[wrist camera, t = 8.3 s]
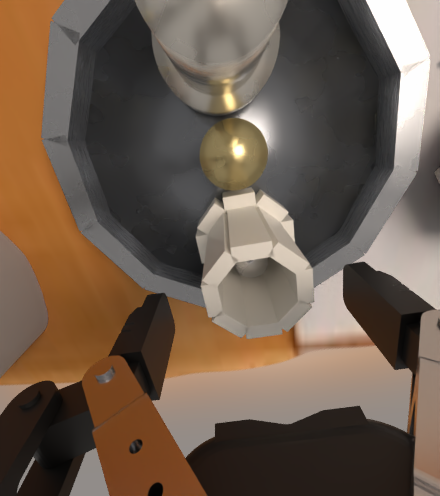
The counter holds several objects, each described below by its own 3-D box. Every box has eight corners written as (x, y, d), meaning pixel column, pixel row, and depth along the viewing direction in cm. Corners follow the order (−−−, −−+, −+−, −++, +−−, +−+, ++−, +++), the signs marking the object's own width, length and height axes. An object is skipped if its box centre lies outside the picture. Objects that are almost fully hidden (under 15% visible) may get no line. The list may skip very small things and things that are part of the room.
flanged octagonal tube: (191, 198, 18) (169, 239, 10) (283, 181, 17) (330, 211, 10) (209, 278, 20) (202, 357, 13) (291, 265, 20) (333, 340, 12)
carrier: (132, 301, 22) (78, 399, 14) (17, -7, 14) (-276, -220, 6) (379, 263, 21) (487, 348, 12) (403, -105, 13) (757, -585, 4)
